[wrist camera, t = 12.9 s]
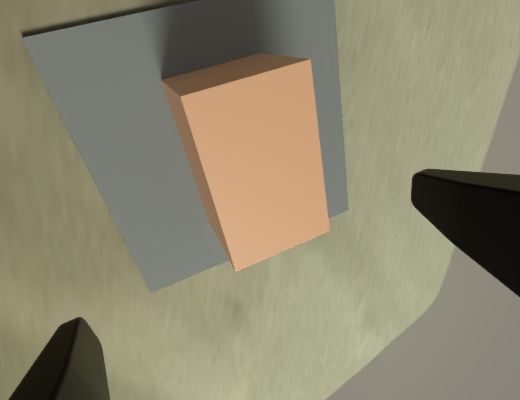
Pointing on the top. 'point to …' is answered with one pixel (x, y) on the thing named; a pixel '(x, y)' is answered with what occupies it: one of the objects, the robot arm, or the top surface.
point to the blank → (254, 152)
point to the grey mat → (161, 118)
